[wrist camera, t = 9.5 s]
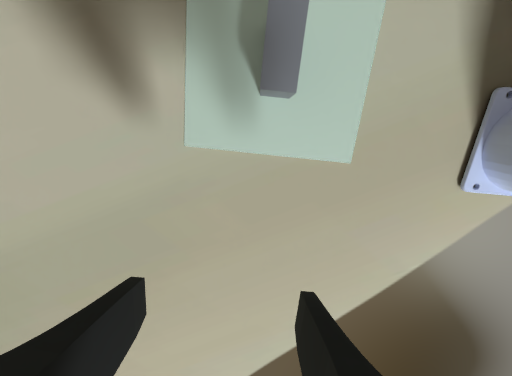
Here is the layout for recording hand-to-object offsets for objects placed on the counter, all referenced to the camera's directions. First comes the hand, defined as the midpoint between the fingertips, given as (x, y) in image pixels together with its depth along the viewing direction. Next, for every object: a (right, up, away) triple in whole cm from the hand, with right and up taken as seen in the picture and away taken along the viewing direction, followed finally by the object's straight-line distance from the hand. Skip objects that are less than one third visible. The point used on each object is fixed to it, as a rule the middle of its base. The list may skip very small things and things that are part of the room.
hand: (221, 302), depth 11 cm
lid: (+3, +15, +7) cm, 17 cm away
